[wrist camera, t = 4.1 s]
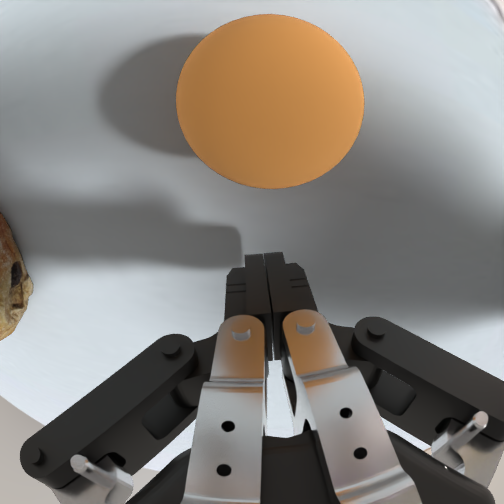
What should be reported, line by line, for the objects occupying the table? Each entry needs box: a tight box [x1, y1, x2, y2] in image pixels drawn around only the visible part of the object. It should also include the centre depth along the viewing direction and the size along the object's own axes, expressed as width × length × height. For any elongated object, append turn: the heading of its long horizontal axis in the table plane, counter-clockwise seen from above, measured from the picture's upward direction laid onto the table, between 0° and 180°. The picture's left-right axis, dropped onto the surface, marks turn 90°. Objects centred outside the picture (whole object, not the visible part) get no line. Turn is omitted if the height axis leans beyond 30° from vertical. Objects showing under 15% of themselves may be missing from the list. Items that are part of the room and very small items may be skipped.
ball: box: [176, 14, 364, 189], centre depth 7 cm, size 5×5×5 cm
